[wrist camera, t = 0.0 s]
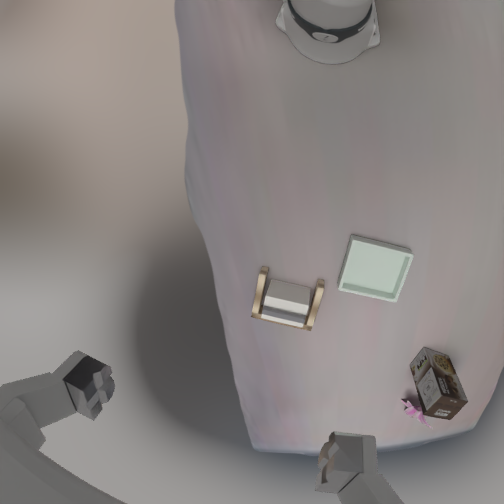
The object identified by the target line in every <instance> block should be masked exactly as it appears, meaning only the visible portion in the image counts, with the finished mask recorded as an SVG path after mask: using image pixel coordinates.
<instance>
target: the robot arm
mask: <svg viewBox="0 0 504 504" xmlns="http://www.w3.org/2000/svg"><path fill="white" fill-rule="evenodd" d="M283 2H284V3H283V5H282V7H281V10H280V12H279V14H278V16H277V19H276V26H277V27H278V28H279V29H280V30H282V31H283V32H284V33H286V34H287V35H288V37H289V38H290V40H291V42H292V43H293V45H294V46H295V48H296V49H297V50H298V51H299V52H300V53H302V54H303V55H304V56H306V57H308V58H309V59H312V60H314V61H317V62H320V63H325V64H340V63H345V62H348V61H350V60H353V59H354V58H356V57H357V56H359V55H360V54H361V53H362V52H363V51H364V50H366V49H369V48H372V47H375V46H377V45H379V43H380V33H379V26H378V19H377V13H376V7H375V1H374V0H283ZM373 34H375V35H374V36H373ZM111 373H112V370H111V367H110V366H108V365H106V364H104V363H102V362H100V361H98V360H96V359H94V358H92V357H90V356H89V355H87V354H85V353H83V352H81V351H79V350H78V351H75V352H74V353H73V354H72V355H71V356H70V357H69V358H68V359H67V360H66V361H65V362H64V363H63V364H61V365H60V367H58V368H57V369H56V370H55V371H54V372H53V373H52V374H51V373H50V372H49V373H45V374H42V375H38V376H34V377H30V378H26V379H23V380H19V381H15V382H11V383H7V384H3V385H2V386H1V387H0V504H127V503H124V502H122V501H120V500H118V499H116V498H114V497H112V496H110V495H109V494H107V493H105V492H103V491H101V490H99V489H97V488H96V487H94V486H92V485H90V484H88V483H87V482H85V481H84V480H82V479H80V478H79V477H77V476H75V475H74V474H72V473H71V472H69V471H67V470H66V469H64V468H63V467H61V466H60V465H58V464H57V463H56V462H54V461H53V460H51V459H50V458H48V457H47V456H45V455H44V454H43V453H41V452H40V451H39V449H40V447H41V446H42V445H43V443H44V442H45V441H46V440H45V436H44V435H43V433H42V432H41V430H40V428H42V427H45V426H47V425H50V424H52V423H54V422H56V421H59V420H61V419H63V418H66V417H68V416H70V415H72V414H74V413H76V411H77V412H79V413H80V414H82V415H84V416H86V417H88V418H90V419H92V420H95V418H96V417H97V416H98V414H99V413H100V412H101V410H102V404H103V403H106V402H108V401H109V400H110V398H111V397H112V395H113V392H114V389H115V384H114V380H113V379H112V377H111V376H110V375H111ZM318 467H319V468H320V470H321V471H320V472H319V473H318V475H317V476H316V486H315V491H320V492H329V493H337V495H338V497H339V499H340V501H341V503H342V504H404V503H403V502H402V500H401V499H400V498H399V496H398V495H397V494H396V493H395V491H394V490H393V489H392V487H391V486H390V485H389V483H388V482H387V481H386V479H385V478H384V477H383V475H382V474H378V470H377V469H378V468H377V451H376V438H375V437H374V436H371V435H360V434H352V433H343V432H332V433H331V434H330V436H329V442H326V443H325V444H324V445H323V447H322V449H321V451H320V454H319V459H318Z"/></svg>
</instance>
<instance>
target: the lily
mask: <svg viewBox="0 0 504 504" xmlns="http://www.w3.org/2000/svg"><path fill="white" fill-rule="evenodd" d="M401 401H402V402H403V403H404V404H405V405H406V406H407V407H408V408H407V409H406V410H405V411H404V412H405V413H406V414H407V415H409V416H411V417H417V419H418V420H419V421H420V422H421V423H422V424H423V423H424V424H425V425H426V426H428V427H429V428H431V429H433V428H432V427H431V426H430V425H429V424H428V423H427V422H426V420H425V419H424V416H425V415H424V416H423V412H422V408H421V406H412V405H411V403H410V402H409V401H407V403H405V402H404V401H403V400H401ZM425 417H427V416H425Z"/></svg>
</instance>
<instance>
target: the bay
mask: <svg viewBox="0 0 504 504" xmlns="http://www.w3.org/2000/svg"><path fill="white" fill-rule="evenodd" d="M268 269H269V268H268V267H264V266H263V267H262V269H261V271H260V273H259V279H258V284H257V289H256V295H255V300H254V305H253V310H252V316H251V317H253V318H257V319H261V320H265V321H269V322H273V323H278V324H282V325H286V326H290V327H295V328H299V329H304V330H308V331H311V329H312V326H313V323H314V320H315V317H316V314H317V310H318V307H319V304H320V301H321V297H322V294H323V291H324V280H320V279H318V282H317V285H316V289H315V292H314V296H313V299H312V302H311V306H310V309H309V313H308V316H306V317H305V322H304V324H303V327H297V326H293V325H288V324H284V323H280V322H276V321H271V320H267V319H263V318H261V315H262V310H263V305H261V303H262V298H263V293H264V289H265V284H266V279H267V274H268Z"/></svg>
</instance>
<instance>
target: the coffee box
mask: <svg viewBox="0 0 504 504" xmlns="http://www.w3.org/2000/svg"><path fill="white" fill-rule="evenodd" d="M410 368H411V371H412V374H413V378H414V381H415V385H416V389H417V393H418V396H419V400H420V404H421V408H422V412H423V415H425V416H430V417H436V418H441V419H448V420H451V419H452V418H453V417H454V416H455V415H456V414H457V413H458V412H459V411H460V410H461V408H462V407H463V406H464V405H465V404H466V403H467V402H468V400H467V398H466V395H465V393H464V390H463V388H462V385H461V383H460V381H459V378H458V376H457V374H456V371H455V369H454V367H453V365H452V363H451V360H450V358H449V356H447V355H445V354H442V353H439V352H436V351H433V350H430V349H427V348H425V347H424V348H423V349H422V350H421V351H420V353H419V354H418V355H417V357H416V358H415V359H414V360H413V362H412V363H411V364H410Z"/></svg>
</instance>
